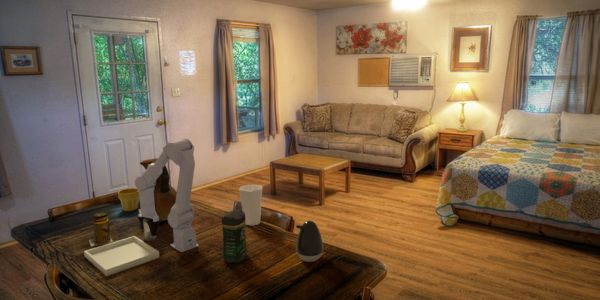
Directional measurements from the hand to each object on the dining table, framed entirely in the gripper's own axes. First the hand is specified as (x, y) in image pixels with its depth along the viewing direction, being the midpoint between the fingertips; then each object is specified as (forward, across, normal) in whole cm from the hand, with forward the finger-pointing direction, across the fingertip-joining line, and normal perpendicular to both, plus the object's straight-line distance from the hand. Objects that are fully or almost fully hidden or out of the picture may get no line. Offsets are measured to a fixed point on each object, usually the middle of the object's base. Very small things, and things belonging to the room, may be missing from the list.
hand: (150, 233), depth 179 cm
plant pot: (+3, -44, +10) cm, 45 cm away
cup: (+3, +18, +41) cm, 45 cm away
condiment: (+3, -13, -16) cm, 21 cm away
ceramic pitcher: (+3, -18, +14) cm, 23 cm away
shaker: (+2, 0, 0) cm, 2 cm away
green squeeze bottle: (+3, +42, +14) cm, 44 cm away
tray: (+2, +9, -16) cm, 19 cm away
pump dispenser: (+3, +63, +33) cm, 71 cm away
